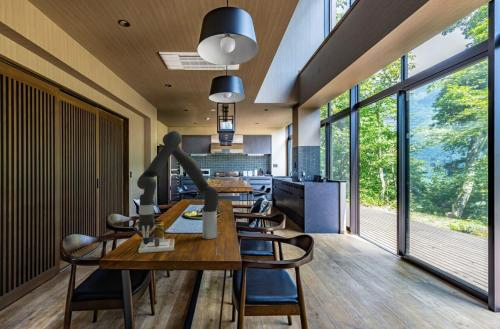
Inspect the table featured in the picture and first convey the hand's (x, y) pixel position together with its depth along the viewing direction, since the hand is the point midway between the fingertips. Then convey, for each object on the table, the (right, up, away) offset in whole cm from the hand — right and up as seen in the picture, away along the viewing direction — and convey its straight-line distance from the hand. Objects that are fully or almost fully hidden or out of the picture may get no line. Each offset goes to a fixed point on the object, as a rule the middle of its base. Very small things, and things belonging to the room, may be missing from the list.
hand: (146, 244), depth 143 cm
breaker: (-1, -1, +9) cm, 9 cm away
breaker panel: (+4, -4, +6) cm, 8 cm away
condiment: (-3, -4, +25) cm, 25 cm away
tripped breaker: (+6, -1, +1) cm, 6 cm away
